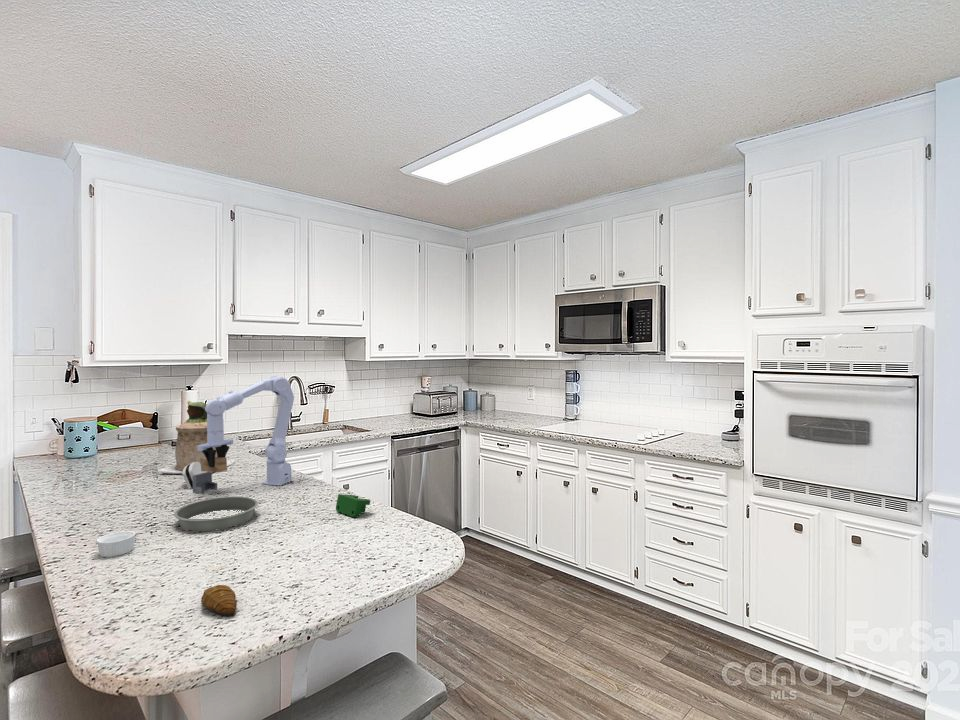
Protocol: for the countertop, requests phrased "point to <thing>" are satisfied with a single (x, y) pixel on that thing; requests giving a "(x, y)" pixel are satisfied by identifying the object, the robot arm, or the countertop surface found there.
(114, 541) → the ramekin
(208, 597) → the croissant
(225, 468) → the block
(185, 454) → the cookie jar
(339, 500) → the green wheelie bin
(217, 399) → the robot arm
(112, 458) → the countertop surface
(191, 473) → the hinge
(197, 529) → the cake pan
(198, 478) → the grey metal bench
